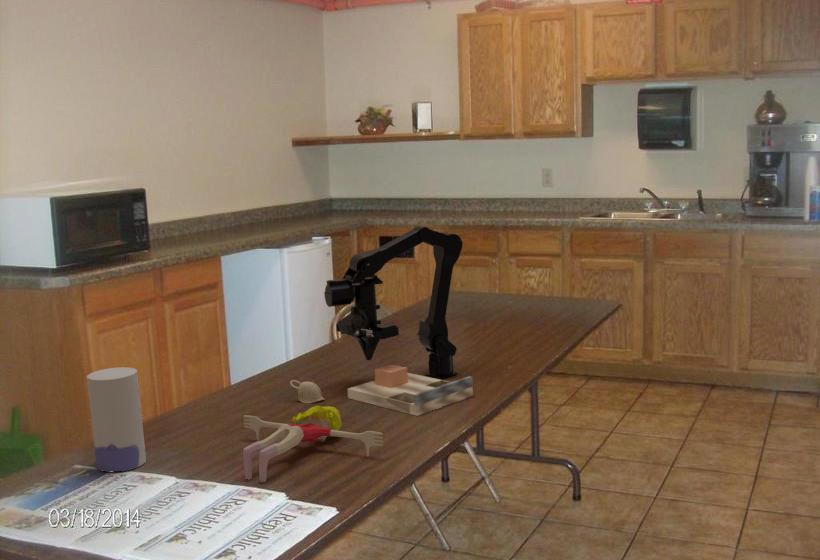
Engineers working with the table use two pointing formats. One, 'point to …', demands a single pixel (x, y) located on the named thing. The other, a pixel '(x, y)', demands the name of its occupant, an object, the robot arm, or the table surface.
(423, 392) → the tray
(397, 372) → the terracotta block
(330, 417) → the toy
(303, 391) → the beige domed piece
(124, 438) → the container
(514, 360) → the table surface
